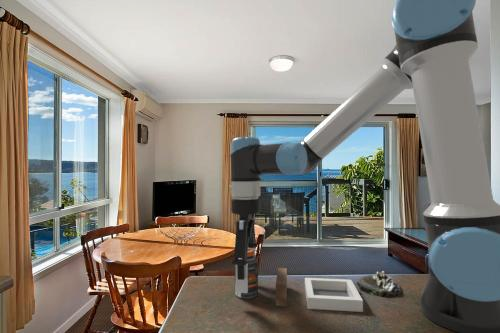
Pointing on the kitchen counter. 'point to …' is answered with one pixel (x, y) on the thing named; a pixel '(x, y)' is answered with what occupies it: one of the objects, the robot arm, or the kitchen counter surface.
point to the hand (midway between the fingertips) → (246, 281)
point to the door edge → (281, 287)
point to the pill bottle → (250, 276)
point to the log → (379, 285)
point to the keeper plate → (332, 295)
